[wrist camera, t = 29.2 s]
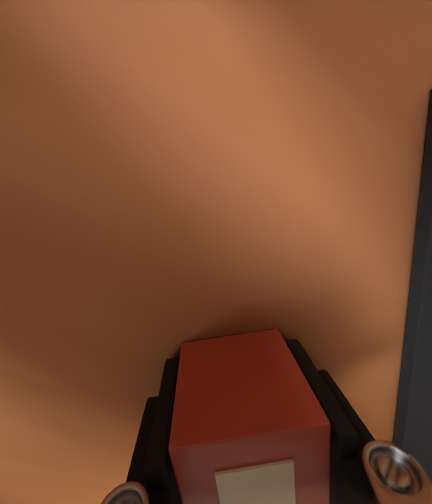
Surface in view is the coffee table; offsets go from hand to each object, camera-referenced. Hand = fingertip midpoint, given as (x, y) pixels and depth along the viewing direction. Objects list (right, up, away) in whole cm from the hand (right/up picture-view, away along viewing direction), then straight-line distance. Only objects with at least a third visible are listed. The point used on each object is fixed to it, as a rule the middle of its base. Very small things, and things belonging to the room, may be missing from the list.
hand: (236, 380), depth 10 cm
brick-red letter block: (0, 0, 0) cm, 0 cm away
